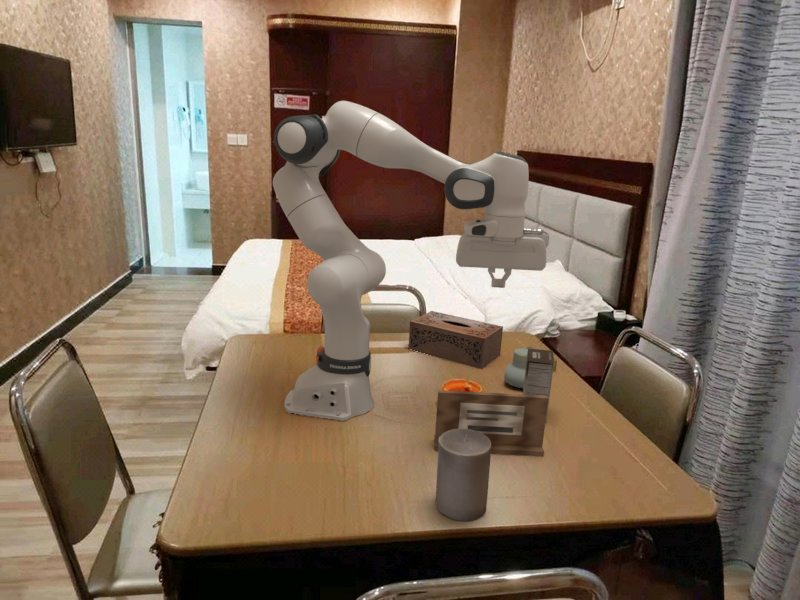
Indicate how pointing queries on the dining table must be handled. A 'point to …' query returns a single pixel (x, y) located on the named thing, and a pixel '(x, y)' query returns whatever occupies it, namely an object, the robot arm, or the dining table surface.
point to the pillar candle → (463, 474)
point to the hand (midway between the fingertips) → (497, 287)
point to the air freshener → (517, 368)
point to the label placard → (495, 419)
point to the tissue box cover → (456, 339)
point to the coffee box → (538, 373)
